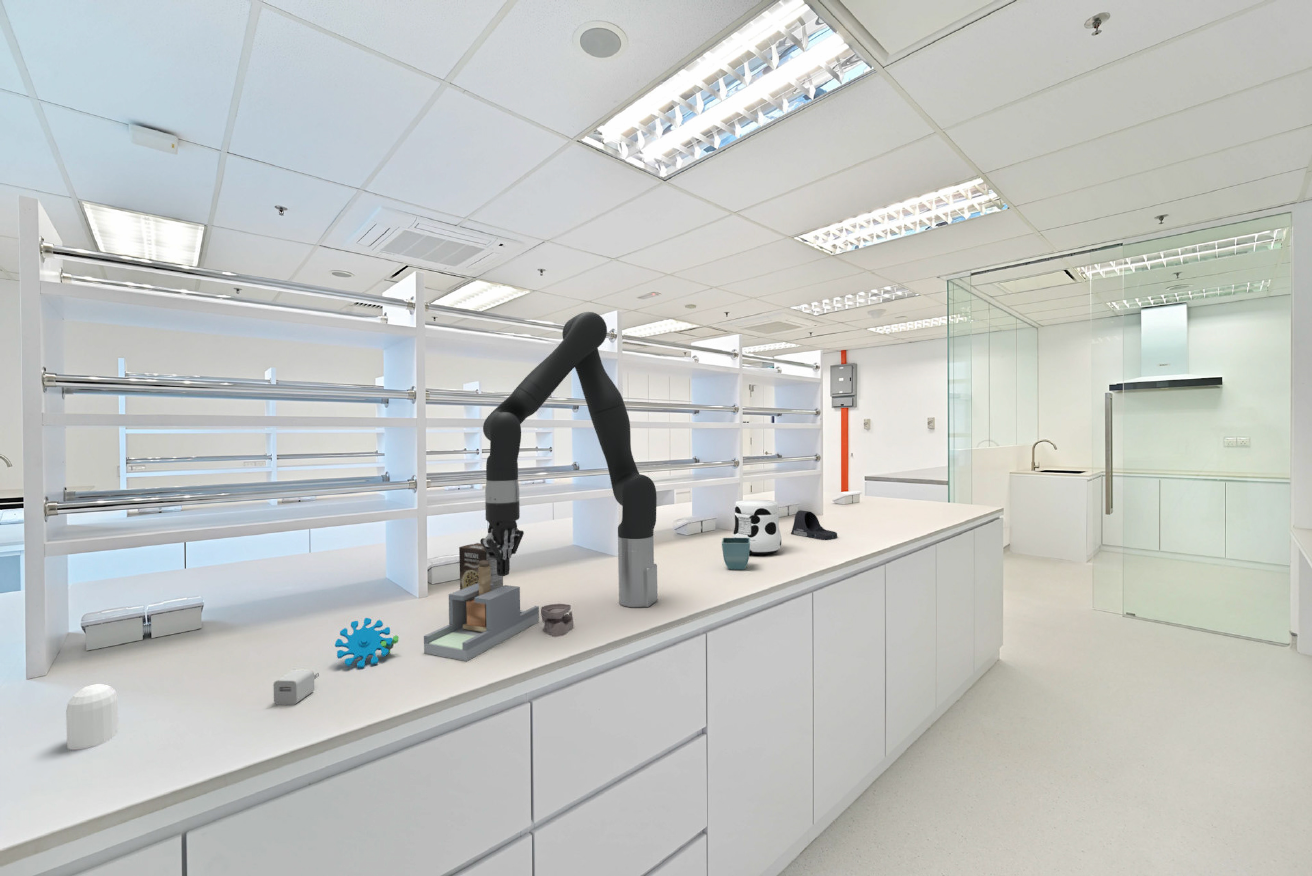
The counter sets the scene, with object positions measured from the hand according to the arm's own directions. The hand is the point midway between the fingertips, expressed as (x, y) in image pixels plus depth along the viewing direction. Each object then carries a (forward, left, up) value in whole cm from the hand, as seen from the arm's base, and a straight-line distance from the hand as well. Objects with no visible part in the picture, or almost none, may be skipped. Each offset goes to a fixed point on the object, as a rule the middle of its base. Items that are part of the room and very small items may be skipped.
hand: (503, 575), depth 127 cm
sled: (0, +6, -9) cm, 11 cm away
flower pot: (-36, -70, -12) cm, 79 cm away
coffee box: (+13, -8, -12) cm, 19 cm away
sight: (-53, -132, -12) cm, 142 cm away
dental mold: (-13, -3, -12) cm, 18 cm away
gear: (+13, +25, -12) cm, 31 cm away
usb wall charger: (+12, +40, -12) cm, 43 cm away
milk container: (-37, -95, -12) cm, 102 cm away
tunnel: (0, +6, -12) cm, 13 cm away
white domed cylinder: (+27, +60, -12) cm, 67 cm away
